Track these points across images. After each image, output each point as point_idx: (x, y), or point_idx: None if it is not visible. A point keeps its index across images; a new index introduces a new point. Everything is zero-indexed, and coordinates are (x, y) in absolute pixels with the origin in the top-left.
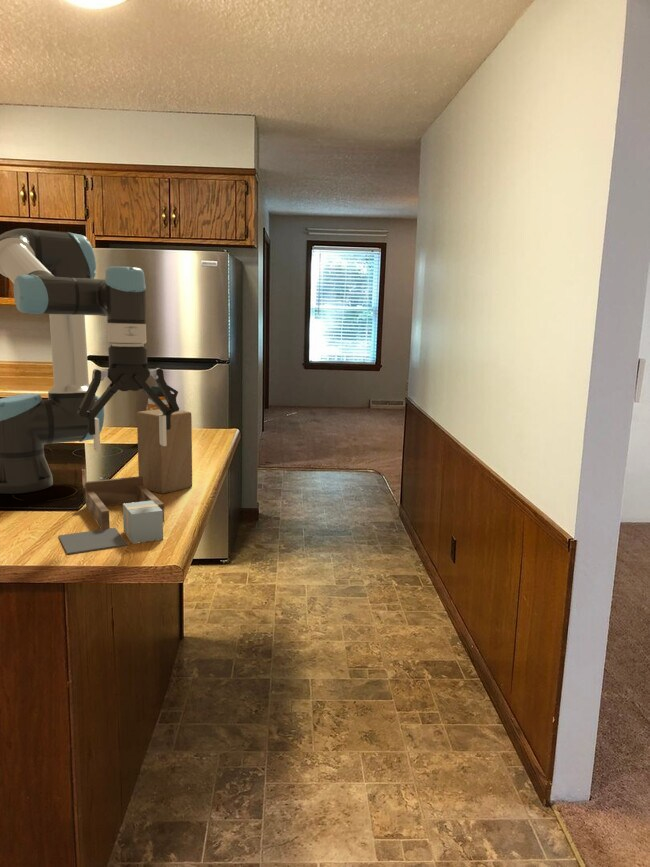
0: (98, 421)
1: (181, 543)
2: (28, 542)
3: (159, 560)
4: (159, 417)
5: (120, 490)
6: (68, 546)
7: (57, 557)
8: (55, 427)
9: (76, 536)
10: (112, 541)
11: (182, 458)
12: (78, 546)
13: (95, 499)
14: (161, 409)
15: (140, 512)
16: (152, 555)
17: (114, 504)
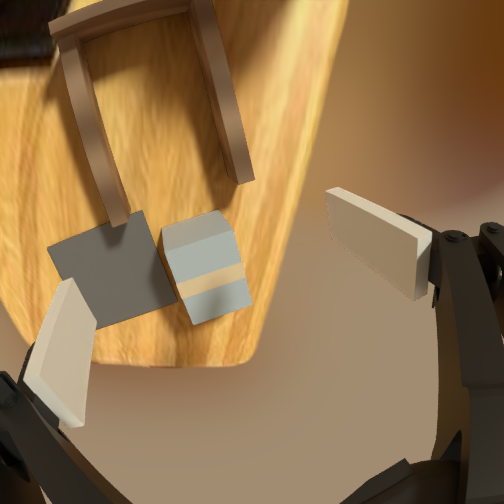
0: (82, 417)
1: (264, 294)
2: (13, 270)
3: (229, 352)
4: (405, 241)
5: (146, 10)
6: None
7: None
8: None
9: (79, 257)
10: (149, 288)
11: None
12: (98, 306)
13: (82, 118)
14: (437, 307)
15: (209, 315)
16: (219, 337)
17: (131, 25)
